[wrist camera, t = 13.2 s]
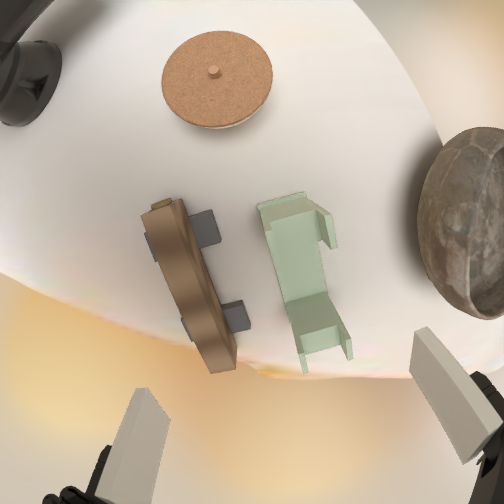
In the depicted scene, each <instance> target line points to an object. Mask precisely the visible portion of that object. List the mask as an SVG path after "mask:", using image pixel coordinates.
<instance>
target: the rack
mask: <svg viewBox="0 0 504 504" xmlns="http://www.w3.org/2000/svg"><path fill="white" fill-rule="evenodd" d="M257 207H258V210H259V214H260V217H261V221H262V224H263V228H264V232H265V235H266V239H267V242H268V246H269V249H270V253H271V256H272V260H273V263H274V266H275V270H276V273H277V277H278V281H279V284H280V288H281V291H282V295H283V299H284V302H285V306H286V310H287V313H288V317H289V321H290V323H291V325H292V329H293V334H294V338H295V342H296V347H297V351H298V355H299V359H300V363H301V367H302V371H303V374H304V373H308V372H309V371H308V367H307V363H306V359H305V355H306V354H310V353H314V352H317V351H321V350H324V349H327V348H331V347H334V346H337V345H340V344H341V346H342V348H343V351H344V353H345V355H346V357H347V360H352V359H353V352H352V342H351V337H350V335H349V334H348V332H347V330H346V328H345V326H344V324H343V322H342V320H341V318H340V316H339V314H338V313H337V311H336V309H335V307H334V305H333V303H332V301H331V300H330V298H329V296H328V292H327V287H326V282H325V276H324V271H323V266H322V261H321V257H320V252H319V247H318V243H317V241H320V240H323V241H324V242H325V243H326V244H327V245H328V247H329V248H330V249H331V250H332V249H336V248H338V245H337V240H336V235H335V230H334V225H333V220H332V216H331V213H329V212H328V211H326V210H325V209H323V208H322V207H320V206H319V205H317V204H316V203H314V202H312V201H311V200H309V199H308V198H307V196H306V192H300V193H296V194H292V195H289V196H285V197H281V198H277V199H274V200H270V201H267V202H263V203H259V204H257Z"/></svg>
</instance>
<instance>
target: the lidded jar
mask: <svg viewBox="0 0 504 504" xmlns="http://www.w3.org/2000/svg"><path fill="white" fill-rule="evenodd" d="M272 77H273V72H272V65H271V62H270V59H269V57H268V56H267V54H266V52H265V51H264V50H263V48H262V47H261V46H260V45H259V44H258V43H256V42H255V41H254V40H252V39H251V38H249V37H247V36H245V35H242V34H239V33H235V32H230V31H212V32H207V33H203V34H200V35H197V36H195V37H193V38H191V39H189V40H187V41H186V42H184V43H183V44H182V45H181V46H179V47H178V48H177V49H176V50H175V51H174V52H173V53H172V55H171V56H170V58H169V59H168V61H167V63H166V65H165V67H164V70H163V74H162V82H161V83H162V92H163V96H164V98H165V100H166V103H167V104H168V106H169V107H170V109H171V110H172V111H173V112H174V113H175V114H176V115H177V116H179V117H180V118H182V119H183V120H185V121H187V122H189V123H191V124H194V125H197V126H201V127H204V128H211V129H223V128H229V127H233V126H236V125H238V124H241V123H243V122H244V121H246V120H248V119H249V118H250V117H252V116H253V115H254V114H255V113H256V112H257V111H258V110H259V109H260V107H261V106H262V104H263V103H264V101H265V100H266V98H267V96H268V94H269V91H270V89H271V84H272Z"/></svg>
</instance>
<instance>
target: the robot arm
mask: <svg viewBox="0 0 504 504" xmlns="http://www.w3.org/2000/svg"><path fill="white" fill-rule="evenodd" d="M53 1H54V0H0V121H1V122H2V123H4V124H5V125H8V126H24V125H26V124H28V123H30V122H31V121H33V120H34V119H35V118H36V117H37V116H38V115H39V114H40V113H41V112H42V110H43V109H44V108H45V106H46V105H47V103H48V101H49V100H50V98H51V96H52V94H53V92H54V90H55V87H56V85H57V82H58V79H59V76H60V71H61V63H62V60H61V53H60V50H59V49H58V47H57V46H56V45H54V44H52V43H50V42H47V41H42V40H41V41H34V42H29V41H28V42H17V41H18V40H19V39H20V38H21V36H22V35H23V34H24V33H25V31H26V30H27V29H28V28H29V27H30V26H31V24H32V23H33V22H34V21H35V20H36V19H37V18H38V17H39V15H40V14H41V13H42V12H43V11H44V10H45V9H46V8H47V7H48V6H49V5H50V4H51V3H52V2H53ZM409 372H410V373H411V375H412V376H413V378H414V379H415V381H416V383H417V384H418V386H419V387H420V389H421V391H422V392H423V394H424V396H425V397H426V399H427V401H428V402H429V404H430V406H431V407H432V409H433V410H434V412H435V414H436V416H437V418H438V419H439V421H440V423H441V424H442V426H443V428H444V430H445V432H446V433H447V435H448V437H449V439H450V440H451V442H452V444H453V446H454V448H455V450H456V452H457V454H458V456H459V458H460V460H461V461H462V463H463V465H464V464H465V463H467V462H469V461H470V460H472V459H473V458H474V457H476V456H477V455H478V454H479V453H480V452H481V451H482V450H483V452H484V454H483V455H482V456H481V458H480V459H479V460H478V462H477V464H476V465H478V464H479V463H480V462H481V461H482V462H481V466H480V470H479V474H478V477H477V480H476V483H475V486H474V489H473V492H472V495H471V498H470V501H469V503H468V504H504V398H503V397H502V395H501V394H500V393H499V392H498V391H497V390H496V388H495V387H494V385H492V383H491V382H490V380H489V379H488V378H487V377H486V376H485V375H483V374H482V373H480V372H478V371H476V372H474V373H473V374H471V375H468V374H467V372H466V371H465V370H464V369H463V367H462V366H461V365H460V364H459V362H458V361H457V360H456V359H455V358H454V356H453V355H452V354H451V353H450V352H449V351H448V349H447V348H446V347H445V346H444V345H443V344H442V342H441V341H440V340H439V339H438V338H437V337H436V336H435V334H434V333H433V332H432V331H431V330H430V329H429V328H428V327H424V328H422V329H419V330H417V331H414V340H413V348H412V355H411V361H410V367H409ZM169 424H170V418H169V417H168V415H167V414H166V413H165V411H164V410H163V409H162V407H161V406H160V405H159V403H158V402H157V400H156V399H155V397H154V396H153V394H152V393H151V391H150V390H149V389H148V388H136V389H135V392H134V394H133V396H132V398H131V401H130V403H129V406H128V408H127V410H126V413H125V415H124V418H123V420H122V422H121V425H120V427H119V430H118V433H117V435H116V438H115V440H114V443H113V445H112V446H110V445H107V446H106V447H105V448H104V449H103V451H102V452H101V453H100V456H99V459H98V462H97V464H96V466H95V469H94V472H93V474H92V477H91V480H90V482H89V485H88V488H87V490H86V492H85V493H83V492H81V491H80V490H79V489H77V488H76V487H73V486H67V487H65V488H64V489H63V490H62V491H61V492H60V496H59V497H58V496H56V495H55V494H48V495H46V496H45V497H44V499H43V502H42V504H151V500H152V496H153V491H154V487H155V482H156V478H157V473H158V469H159V465H160V461H161V457H162V453H163V448H164V444H165V440H166V437H167V433H168V429H169Z"/></svg>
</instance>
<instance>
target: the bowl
mask: <svg viewBox="0 0 504 504" xmlns="http://www.w3.org/2000/svg"><path fill="white" fill-rule="evenodd" d="M417 229H418V238H419V245H420V251H421V256H422V260H423V262H424V265H425V267H426V270H427V276H428V278H429V279H430V280H431V281H432V282H433V284H434V286H435V287H436V288H437V290H438V291H439V293H440V294H441V295H442V296H443V297H444V298H445V300H446V301H447V302H448V303H450V304H451V305H452V306H453V307H455V308H456V309H458V310H461V311H463V312H465V313H467V314H469V315H471V316H473V317H476V318H479V319H484V320H492V319H496V318H498V317H501V316H502V315H504V130H503V129H498V128H491V127H476V128H472V129H468V130H465V131H463V132H461V133H459V134H458V135H456V136H455V137H454V138H452V139H451V140H450V141H448V142H447V143H446V144H445V145H444V147H443V148H442V149H441V150H440V152H439V153H438V155H437V157H436V159H435V161H434V162H433V164H432V166H431V167H430V169H429V171H428V173H427V176H426V178H425V181H424V185H423V188H422V191H421V195H420V201H419V206H418V214H417Z"/></svg>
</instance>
